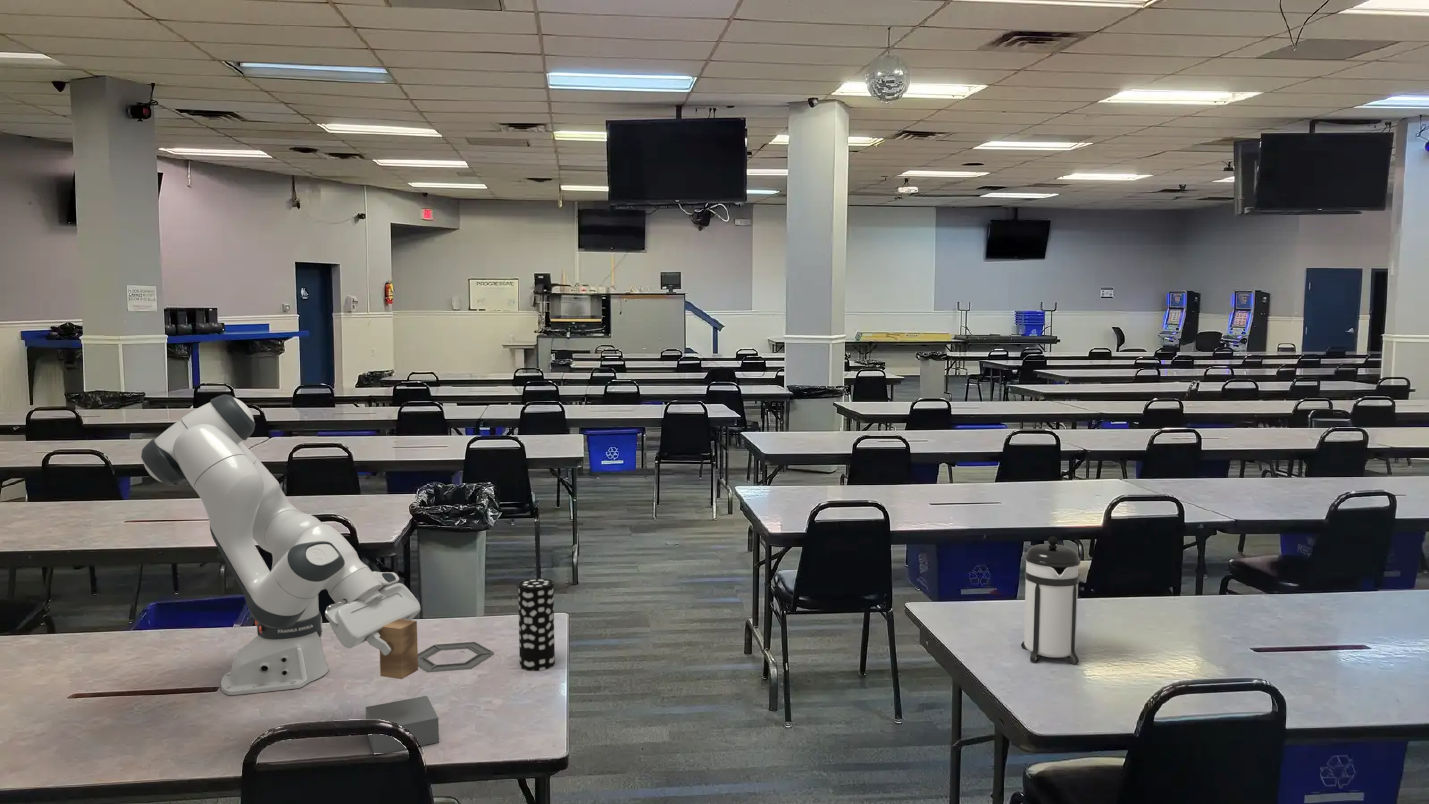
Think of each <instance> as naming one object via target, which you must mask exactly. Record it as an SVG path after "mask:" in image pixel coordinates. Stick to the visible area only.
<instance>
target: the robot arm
mask: <svg viewBox="0 0 1429 804" xmlns="http://www.w3.org/2000/svg"><path fill="white" fill-rule="evenodd" d="M255 427H256V423H255V419H254V415H253V413H252V411H251V409H250V408H249V407H248V406H247V404H246V403H244V401H242V400H240V399H238V398H237V397H234V396H232V394H231V395H230V394H225V393H224V394H221V395H218V396H216V397H214V398H211V399H210V402H208V403H205V404H203V405H201V406H198V408H195V409H194V410H192V411H190V412H188V413H187V414H185V415H184V416H183V417H181V418H180V419H179V420H178V421H176V422H174V423H173V424H172V425H170V426H169V427H168V428H166V430H164V431H163V432H162V433H160V435H158V436H157V437H156V438H152V439H151V440H149V442H147V443H146V445H144V446H143V448H142V450H141V453H140V457H141V460H142V463H143V466H144V468H145V470H146V471H147V473H148V474H149V476H151V477H152V478H153V479H155V480H156V481H158V482H160V483H163V484H164V485H166V486H177V485H181V484H183V483H186V482H188V483H189V485H190V486H191V487H192V488H193V489H194V491H195V492H196V494H197V495H198V496H199V498H200V499H201V502H202V504H203V507H204V509H205V511H206V514H207V517H208V520H209V531H210V534H211V537H212V539H213V541H214V543H215V546H216V547H217V549H218V551H219V553H220V555H221V556H222V558H223V560H224V562H225V564H226V565H227V567H228V569H229V571H230V573H231V574H232V576H233V578H234V579H235V581H236V582H237V585H238V586H239V588H240V590H241V592H242V594H243V597H244V600H245V602H246V605H247V609H248V611H249V613H250V615H251V617H252V618H253V619H254V624H255V625H254V626H255V627H256V632H257V635H256V636H255V637H254V638H252V639H251V640H250V641H249V642H248V643H247V644H245V645H244V646H243V647H242V648H240V649H239V650H238V651H237V652H236V653H235V655H234V657H233V661H232V664H231V669H230V671H228V672H227V673H225V674H223V676H222V678H221V680H220V689H221V692H222V693H224V694H225V695H227V696H236V695H237V696H238V695H247V694H256V693H264V692H265V693H266V692H274V691H284V690H285V691H286V690H292V689H293V690H294V689H300V688H303V687H304V686H306V685H307V684H309V683H311V682H313V681H315V680H318V679H320V678H322V677H323V676H326V674H327V673H328V672H329V670H330V668H329V666H328V663H327V660H326V656H325V652H324V648H323V642H322V634H323V633H322V632H323V618H322V613H321V611H320V610H319V609H320V608H319V594H321V593H320V592H321V591H323V590H326V591H327V593H328V595H329V597H330V598H331V600H333V602H334V603H331V604H329V605H328V606H326V608H325V611H324V616H325V618H326V620H327V621H328V622H329V625H330V627H331V630H332V632H333V634H334V635H335V637H336V638H337V640H338V642H339V643H340V644H341V646H343V647H344V648H346V649H348V650H350V649H353V648H354V647H357V646H359V645H360V644H363V643H365V642H367V643H368V644H369V645H370V646H371V647H373V648H376V649H378V650H379V652H380V651H381V652H382V653H383V654H384V655H388V654H390V653H391V652H392V651H393V650H394V646H392V644H391V643H390V642H385V641H384V640H382V639H381V638H379V637H380V634H379V630H381V629H382V628H383V626H385V625H387V624H389V623H391V622H394V621H396V620H398V619H404V620H413V619H414V618H415V617H416V616H417V615H418V614H419V613H420V612H421V604H420V602H419V600H418V599H417V597H415V595H414V594H413V593H412V592H411V591H410V589H409V588H408V587H407V586H406V585H405V584H404V583H400V582H399V581H400V577H399V576H398V574H397V573H395V572H393V571H392V572H389V571H388V572H387V571H386V572H381V571H374V570H373V571H372V569H370V567H369V566H368V565H367V564H365V563H364V562H363V561H362V560H361V559H360V558H359V555H358V552H357V551H356V550H355V548H354V547H353V546H352V544H350V542H349V541H348V540H347V539H346V537H344V535H343V534H341V533H340V532H339V531H338V530H337V529H336V528H334V527H332V526H331V525H330V524H325V523H323V522H321V520H319V518H317V517H316V516H314V515H312V514H309V513H305V512H303V511H301V510H299V509H298V508H297V507H295V506H294V505H293V504H292V503H291V502H290V501H289V499H288V498H287V496H286V495H285V493H284V491H283V490H282V488H281V484H280V483H279V481H278V480H277V479H276V478H275V476H274V475H273V474H272V473H271V472H270V471H269V469H268V468H267V467H266V466H265V465H264V464H263V463H262V462H261V461H260V459H259V458H258V457H257V456H256V455H255V453H253V451H252V450H251V449H249V448H248V446H246V445H245V444H244V442H242V441H247V440H248V439H249V438H250V437H251V435H252V434H253V433H254V432H255ZM254 541H255V542H256V544H257V545H258V546H259V547H260V548H261V549H262V550H264V551H265V552H268V553H270V554H271V556H272V565H271V570H270V569H269V567H268V565H267V564H266V562H265V560H264V558H263V557H262V555H261V554H260V552H259V550H258V548H257V547H256V544H255V542H254Z"/></svg>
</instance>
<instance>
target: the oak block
mask: <svg viewBox="0 0 1429 804" xmlns="http://www.w3.org/2000/svg"><path fill="white" fill-rule="evenodd" d="M379 634H380V637H379V638H381V639H382V640H384V641H385V642H390V643H391V644H392V646H394V650H393V651H392V652H391V653H390V654H388V655H384V654H383V653H382V652H381V651H380V650H379V669H380V671H379V673H380V677H385V678H390V679H391V678H392V679H396V680H397V679H399V680H403V679H405V678H407V677H408V676H411V675H412V674H414V673H415V672H417V671H419V667H418V653H419V652H418V651H419V649H418V648H419V647H418V621H417V620H413V619H411V620H404V619H398V620H396V621H394V622H391V623H389V624H387V625H385V626H383V628H382V629H381V630H379Z"/></svg>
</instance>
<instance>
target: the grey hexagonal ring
mask: <svg viewBox="0 0 1429 804" xmlns="http://www.w3.org/2000/svg"><path fill="white" fill-rule="evenodd" d="M466 649H468V650H469V651H471V652H472V653H474V654H476V655H473V657H471V658H469V659H468V660H466V661H464V662H457V663H456V662H455V663H443V664H441V663H440V664H436V663H434V662H433V661H431V660H429V659H428V658H431V657H432V656H433V655H436V654H437V653H439V652H441V651H451V650H454V651H455V650H466ZM459 653H465V654H466V652H465V651H459ZM494 655H495V652H494V651H493V650H491V649H489V648H487V647H485V646H483V645H482V644H480V643H479V642H476V641H469V642H468V641H467V642H453V643H440V644H439V643H438V644H433V645H431V646H429V647H427V648H426V649H424V650H422V651H420V652H418V668H420V669H421V670H423V671H425V672H426V673H436V672H437V673H438V672H449V671H464V670H472V669H473V668H475V667H477V666H478V665H480V664H482V663H483V662H485V661H486V660H488V659H489V658H491V657H493V656H494ZM481 662H482V663H481Z"/></svg>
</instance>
